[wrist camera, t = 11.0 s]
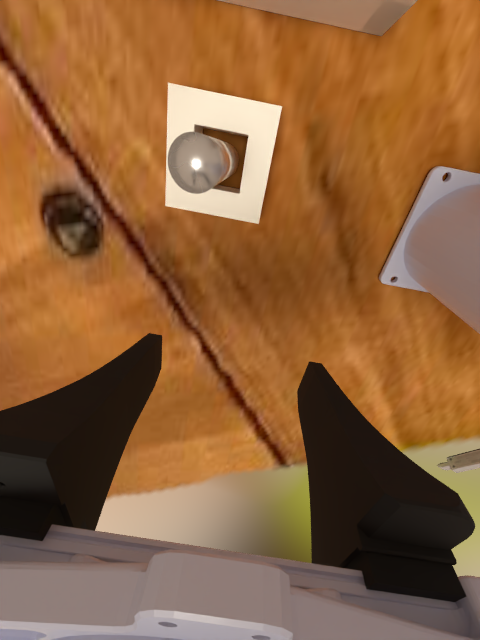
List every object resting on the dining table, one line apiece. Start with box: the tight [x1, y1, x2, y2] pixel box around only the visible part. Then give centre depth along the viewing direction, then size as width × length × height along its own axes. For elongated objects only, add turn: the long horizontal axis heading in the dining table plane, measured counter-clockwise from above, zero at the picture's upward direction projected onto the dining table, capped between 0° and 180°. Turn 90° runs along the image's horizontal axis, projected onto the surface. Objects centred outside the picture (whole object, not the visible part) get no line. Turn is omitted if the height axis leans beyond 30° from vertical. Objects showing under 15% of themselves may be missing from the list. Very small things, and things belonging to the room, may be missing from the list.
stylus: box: [168, 132, 239, 194], centre depth 14 cm, size 2×2×9 cm
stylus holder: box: [165, 83, 282, 224], centre depth 17 cm, size 6×6×2 cm
